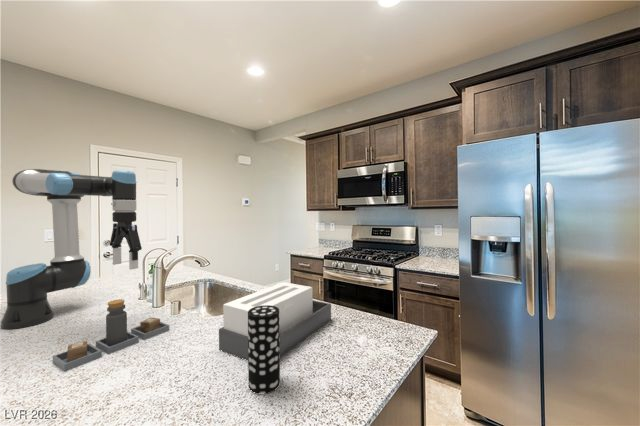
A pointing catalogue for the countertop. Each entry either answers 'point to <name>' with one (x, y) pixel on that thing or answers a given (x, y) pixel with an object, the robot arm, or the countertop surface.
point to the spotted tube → (263, 349)
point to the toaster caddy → (288, 338)
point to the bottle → (116, 323)
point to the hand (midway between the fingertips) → (125, 266)
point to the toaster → (285, 296)
